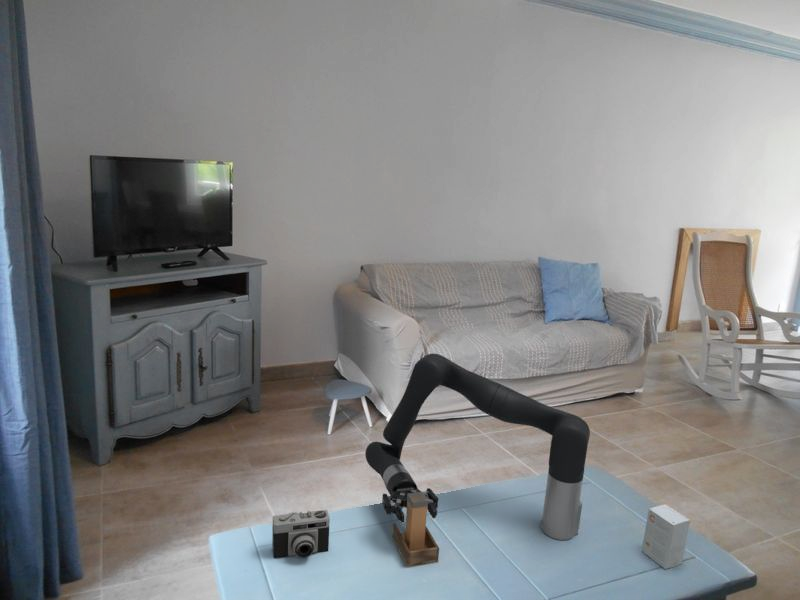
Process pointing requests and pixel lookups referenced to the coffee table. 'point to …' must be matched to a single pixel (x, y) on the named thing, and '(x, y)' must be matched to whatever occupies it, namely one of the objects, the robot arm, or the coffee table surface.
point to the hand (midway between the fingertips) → (419, 517)
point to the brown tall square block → (416, 520)
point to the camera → (300, 534)
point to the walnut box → (416, 556)
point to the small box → (665, 536)
